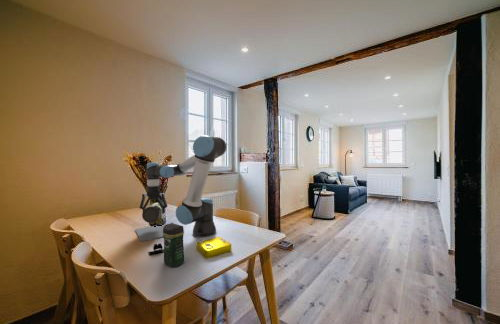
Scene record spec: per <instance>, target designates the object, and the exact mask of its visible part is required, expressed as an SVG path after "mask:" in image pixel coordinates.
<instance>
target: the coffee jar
mask: <svg viewBox="0 0 500 324" xmlns="http://www.w3.org/2000/svg"><path fill="white" fill-rule="evenodd" d="M165 224H166V225H165V226H164V227H163V236H164V237H163V249H164V253H163V263H164V265H165V266H167V267H169V268H176V267H180V266H182V264H184V263H185V249H184V248H185V247H184V235H185V231H184V226H183V225H182V224H181V225H179V224H176V223H173V222H171V223H165Z"/></svg>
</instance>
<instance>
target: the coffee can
mask: <svg viewBox="0 0 500 324" xmlns="http://www.w3.org/2000/svg"><path fill="white" fill-rule="evenodd" d="M161 209H162V207H161V206H160V204H159V203H158V202H153V203H152V204H151V205H149V206H148V207H147V206H146V208H145V209H144V211H143V210H142V214H141V216H142V219H143V221H144V222H146V223H149V224H152V223H155V222H157V220H158V219H159V218H161ZM164 214H165V213H163V215H164Z"/></svg>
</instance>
